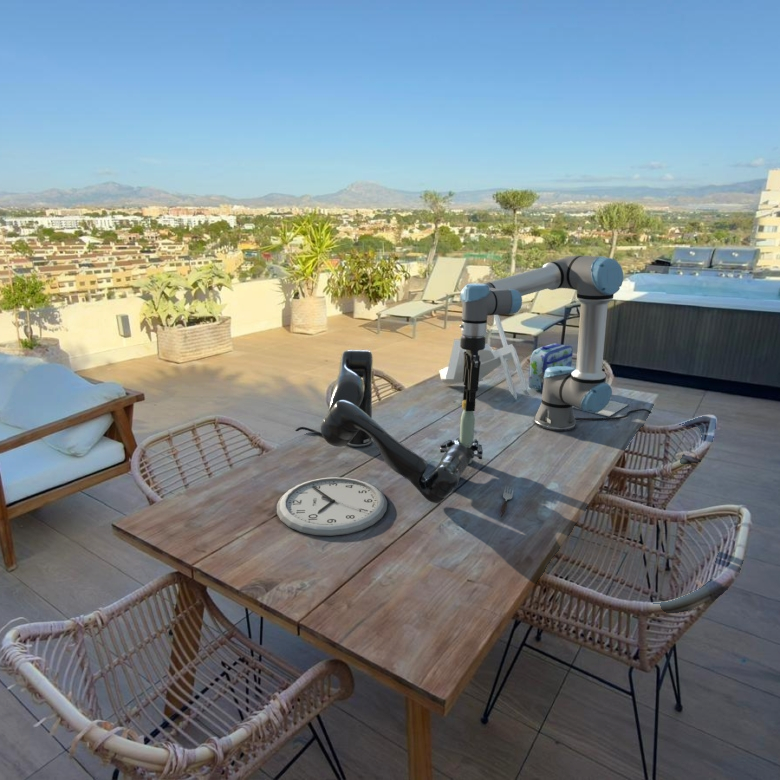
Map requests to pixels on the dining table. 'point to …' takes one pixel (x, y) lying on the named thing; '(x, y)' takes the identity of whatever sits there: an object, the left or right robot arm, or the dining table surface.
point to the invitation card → (611, 408)
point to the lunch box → (547, 362)
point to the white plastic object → (485, 362)
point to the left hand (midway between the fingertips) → (468, 440)
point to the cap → (464, 404)
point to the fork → (506, 497)
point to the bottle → (467, 428)
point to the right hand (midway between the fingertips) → (468, 408)
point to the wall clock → (331, 506)
